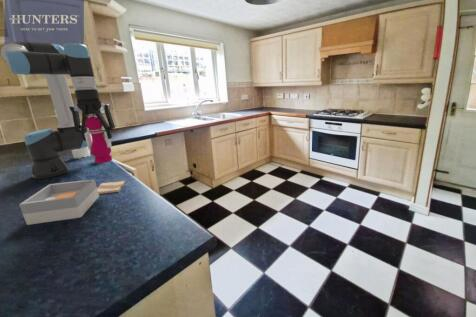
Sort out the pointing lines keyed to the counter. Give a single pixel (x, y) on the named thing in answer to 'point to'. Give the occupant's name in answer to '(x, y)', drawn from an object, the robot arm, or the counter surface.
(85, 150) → the bracket
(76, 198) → the grey open box
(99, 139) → the pepper mill
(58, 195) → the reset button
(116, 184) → the cork mat
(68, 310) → the counter surface
